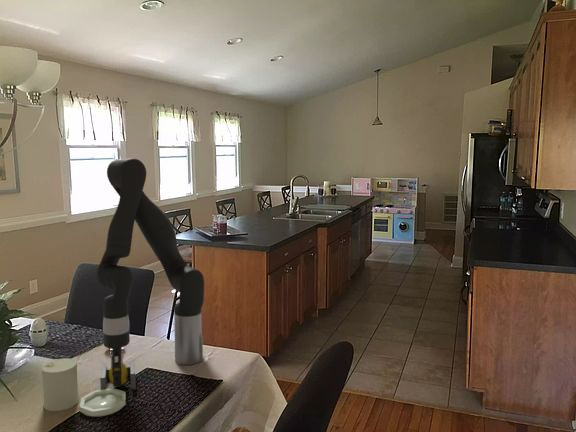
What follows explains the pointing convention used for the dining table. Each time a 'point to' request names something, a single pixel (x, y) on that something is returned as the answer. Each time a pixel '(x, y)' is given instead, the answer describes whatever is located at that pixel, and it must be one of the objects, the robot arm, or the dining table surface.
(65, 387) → the can
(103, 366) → the clip
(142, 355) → the dining table surface
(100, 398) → the dish
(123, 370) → the lemon
